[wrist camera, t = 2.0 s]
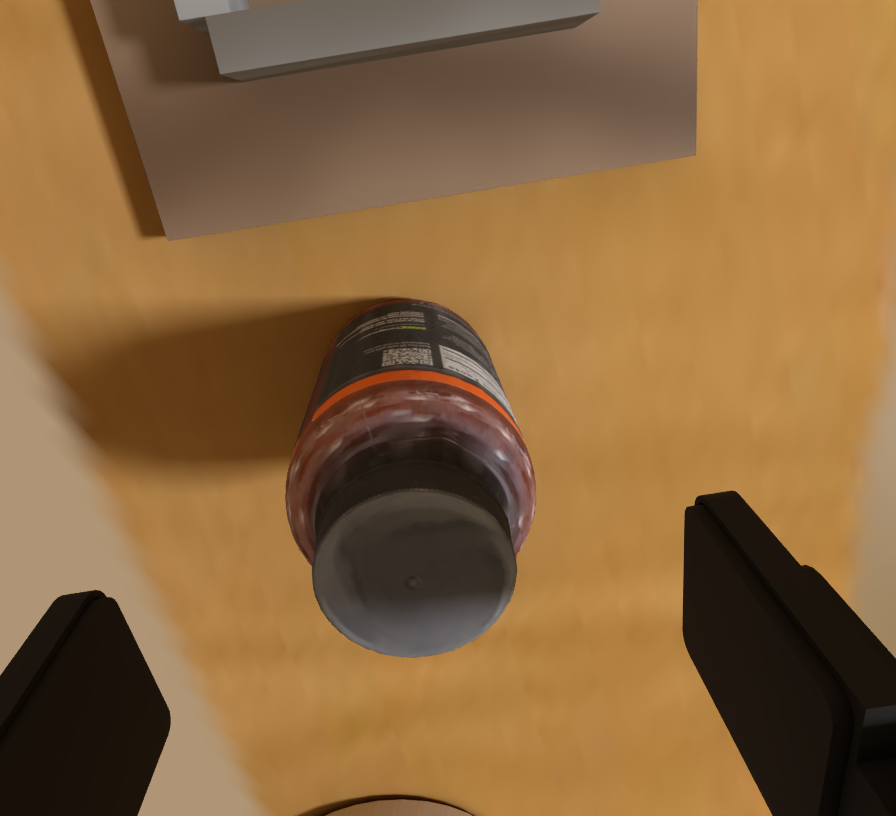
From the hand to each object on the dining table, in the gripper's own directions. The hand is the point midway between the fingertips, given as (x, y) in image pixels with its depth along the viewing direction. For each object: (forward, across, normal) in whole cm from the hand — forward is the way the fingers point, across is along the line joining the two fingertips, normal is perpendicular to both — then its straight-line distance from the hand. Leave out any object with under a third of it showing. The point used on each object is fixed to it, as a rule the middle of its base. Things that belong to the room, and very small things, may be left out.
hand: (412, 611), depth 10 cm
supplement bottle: (+13, 0, +1) cm, 13 cm away
